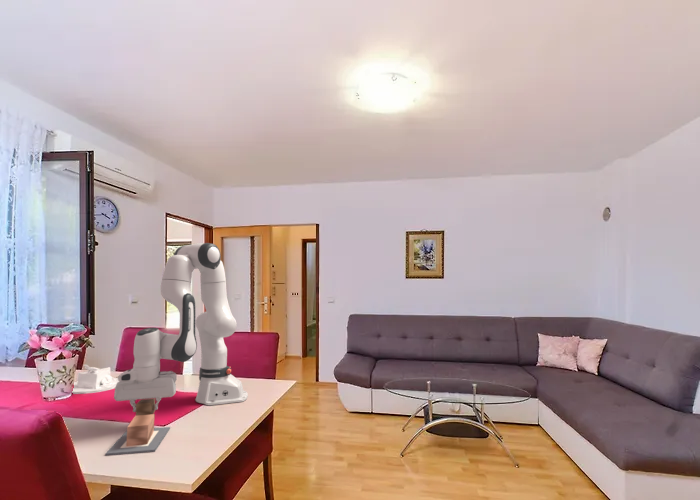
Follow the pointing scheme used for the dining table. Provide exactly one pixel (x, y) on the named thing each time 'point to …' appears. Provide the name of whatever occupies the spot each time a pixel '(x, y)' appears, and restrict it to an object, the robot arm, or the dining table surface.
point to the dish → (94, 381)
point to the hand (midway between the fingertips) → (145, 410)
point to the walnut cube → (145, 407)
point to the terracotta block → (140, 430)
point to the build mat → (150, 447)
